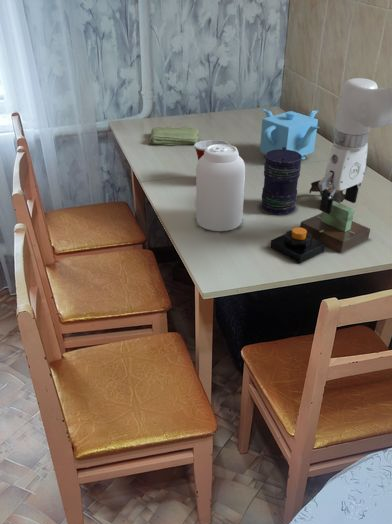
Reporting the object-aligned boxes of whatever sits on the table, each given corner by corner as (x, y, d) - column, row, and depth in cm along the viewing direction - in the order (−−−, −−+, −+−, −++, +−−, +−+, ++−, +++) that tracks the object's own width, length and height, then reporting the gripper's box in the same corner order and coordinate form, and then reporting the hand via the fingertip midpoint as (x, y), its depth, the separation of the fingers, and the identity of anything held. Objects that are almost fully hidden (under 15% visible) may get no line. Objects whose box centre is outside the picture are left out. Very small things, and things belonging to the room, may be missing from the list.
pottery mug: (311, 211, 154) (307, 182, 153) (312, 212, 163) (308, 184, 162) (355, 203, 151) (351, 173, 150) (353, 204, 160) (349, 176, 159)
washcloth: (198, 146, 194) (198, 136, 192) (149, 145, 194) (149, 136, 192) (198, 133, 204) (198, 125, 202) (151, 133, 204) (151, 125, 202)
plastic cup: (220, 173, 175) (221, 135, 167) (233, 186, 167) (235, 147, 159) (188, 178, 172) (188, 139, 164) (200, 191, 164) (201, 151, 156)
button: (308, 237, 134) (309, 231, 133) (299, 242, 132) (300, 235, 131) (298, 232, 136) (298, 225, 135) (288, 236, 134) (289, 230, 133)
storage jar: (262, 199, 160) (267, 136, 148) (295, 201, 158) (303, 138, 147) (259, 214, 152) (265, 149, 141) (294, 216, 151) (303, 151, 139)
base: (369, 238, 141) (372, 227, 139) (339, 253, 135) (341, 242, 133) (327, 219, 149) (329, 209, 147) (297, 233, 143) (299, 222, 141)
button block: (323, 251, 136) (326, 237, 133) (299, 263, 131) (301, 249, 129) (294, 237, 142) (296, 223, 139) (270, 247, 137) (271, 233, 135)
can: (194, 231, 144) (195, 156, 131) (197, 211, 153) (197, 139, 141) (242, 233, 143) (246, 158, 130) (241, 212, 153) (246, 140, 140)
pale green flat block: (350, 229, 138) (354, 208, 135) (344, 232, 137) (349, 211, 134) (326, 218, 143) (329, 198, 140) (320, 220, 142) (323, 200, 138)
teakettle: (259, 166, 180) (263, 120, 170) (259, 146, 194) (263, 102, 184) (316, 168, 178) (323, 122, 169) (312, 148, 193) (319, 104, 183)
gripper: (339, 151, 120) (326, 221, 131) (386, 134, 128) (370, 202, 139) (313, 141, 124) (303, 210, 135) (360, 126, 133) (347, 192, 144)
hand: (337, 206), depth 137 cm, fingers open, 9 cm apart
